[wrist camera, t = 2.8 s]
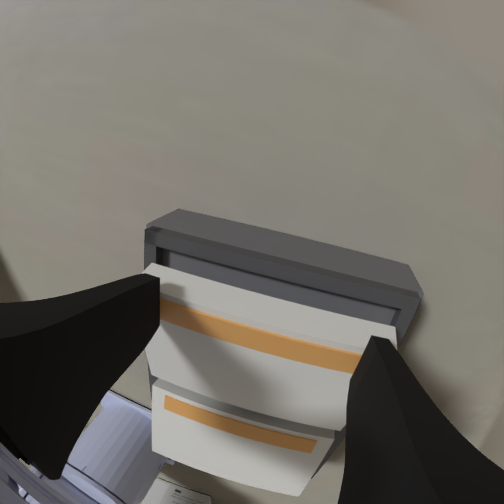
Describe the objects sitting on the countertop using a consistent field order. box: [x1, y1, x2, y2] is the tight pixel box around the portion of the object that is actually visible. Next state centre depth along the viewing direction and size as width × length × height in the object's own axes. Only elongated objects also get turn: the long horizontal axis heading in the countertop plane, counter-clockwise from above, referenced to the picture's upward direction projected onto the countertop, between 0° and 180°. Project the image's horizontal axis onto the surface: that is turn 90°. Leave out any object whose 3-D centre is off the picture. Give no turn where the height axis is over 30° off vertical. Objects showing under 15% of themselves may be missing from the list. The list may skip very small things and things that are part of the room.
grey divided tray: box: [144, 209, 424, 479], centre depth 16 cm, size 15×12×4 cm
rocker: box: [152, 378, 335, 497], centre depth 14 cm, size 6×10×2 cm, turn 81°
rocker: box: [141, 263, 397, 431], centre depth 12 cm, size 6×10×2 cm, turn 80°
